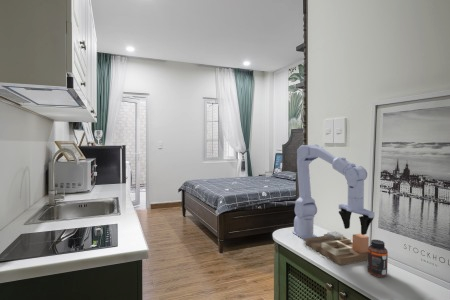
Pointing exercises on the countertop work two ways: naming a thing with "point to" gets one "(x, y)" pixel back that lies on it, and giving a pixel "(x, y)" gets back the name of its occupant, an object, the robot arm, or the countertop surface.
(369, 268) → the supplement bottle
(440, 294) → the countertop surface
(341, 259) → the wooden compartment tray
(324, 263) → the countertop surface
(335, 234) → the block
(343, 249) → the collar
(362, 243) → the terracotta rectangular block
